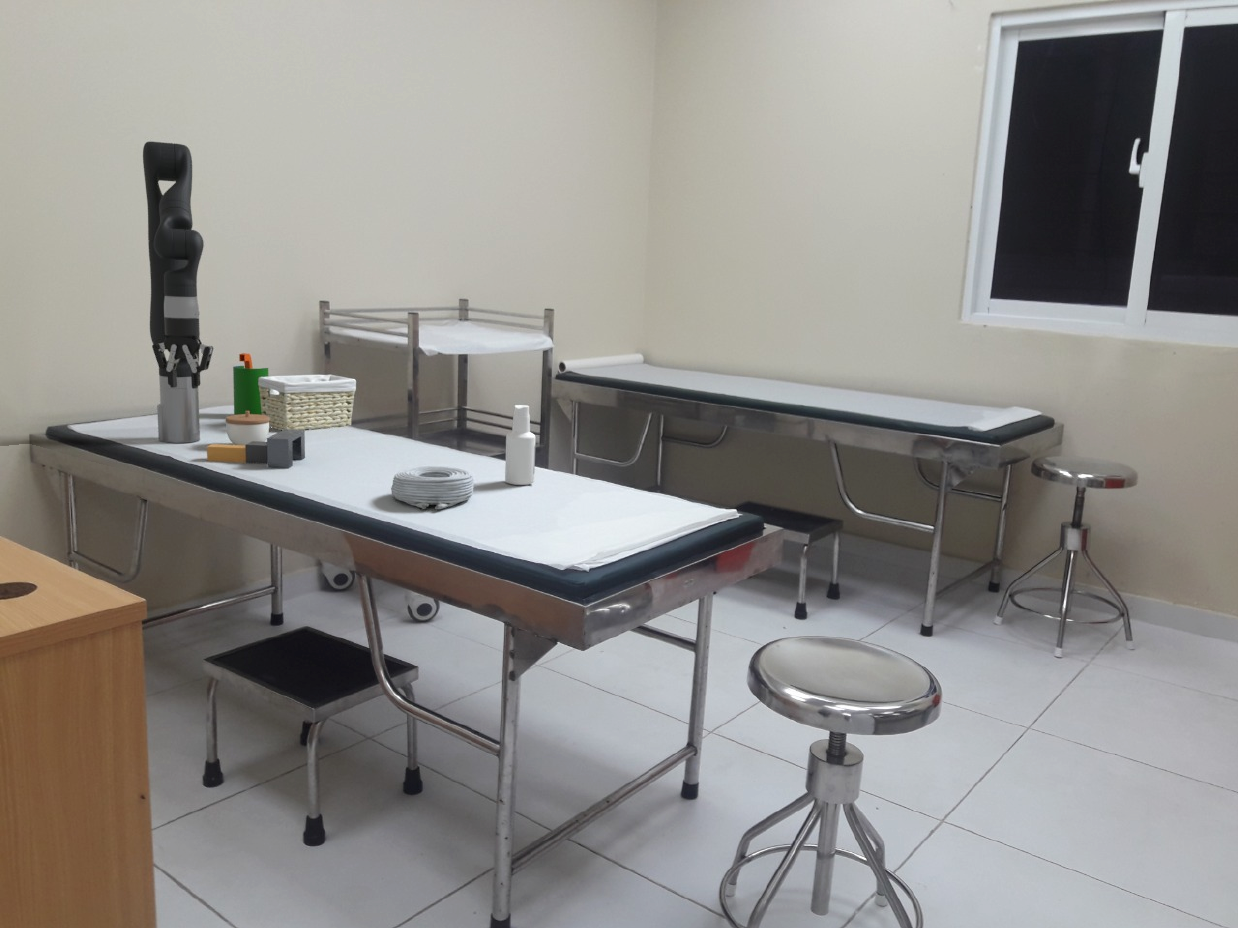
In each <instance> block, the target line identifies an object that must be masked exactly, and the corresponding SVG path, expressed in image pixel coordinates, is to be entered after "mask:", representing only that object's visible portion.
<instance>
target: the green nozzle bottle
mask: <svg viewBox="0 0 1238 928" xmlns="http://www.w3.org/2000/svg"><path fill="white" fill-rule="evenodd" d="M238 355H239V357H238V358H239V362H243V364H244V365H236V366H235V365H234V366H233V367H232V369H233V370H232V371H233V375H232V376H233V377H232V378H233V379H232V380H233V381H232V382H233V407H234V408H233V415H239V414H245V411H250V414H257V415H262V411H261V410H262V409H261V398H260V392H259V385H258V382H259V380H258V379H259V377H269V367H262V368H253V361H252V356H251V354H250V353H244V352H243V353H242V352H241V353H239V354H238Z"/></svg>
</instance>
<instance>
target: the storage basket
mask: <svg viewBox="0 0 1238 928" xmlns="http://www.w3.org/2000/svg"><path fill="white" fill-rule="evenodd" d="M258 380H259V382H258V385H259V392H260V398H261V409H262V410H261V411H262V415H265V416H268V417H269V418H270V421H269V428H270V427H272V428H271V429H274V428H275V429H274V430H276V429H278V430H277V431H280V430H284V429H288V430H305V429H311V430H319V428H323V429H330V427H334V428H344V427H351V426H352V416H353V410H354V409H353V407H354V403H355V402H354V399H355V392H356V391H357V380H356V379H355V378H350V377H345V376H339V375H334V374H298V375H296V374H294V375H273V376H271V375H270V376H268V377H259V379H258ZM305 431H306V430H305Z"/></svg>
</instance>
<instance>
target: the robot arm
mask: <svg viewBox="0 0 1238 928" xmlns="http://www.w3.org/2000/svg"><path fill="white" fill-rule="evenodd" d="M192 157H193V156H192V153H191V150H190V147H188V146H187V145H185V144H182V143H175V142H174V143H172V142H162V141H161V142H160V141H147V142H144V145H143V148H142V162H143V165H142V166H143V173H144V174H143V175H144V183H145V184H144V185H145V192H146V193H145V194H146V201H147V202H146V203H147V239H148V240H147V241H148V242H147V243H148V257H149V270H150V271H149V273H150V305H149V307H150V308H149V310H150V311H149V334H150V340H151V342H152V346H151V347H152V350H153V351H152V352H153V354H154V356H155V357H154V358H155V360H156V363H157V365H158V375H159V376H158V379H159V381H158V382H159V396H160V397H159V401H160V403H158V404H157V407H156V409H157V429H158V431H157V433H158V441H159V442H163V443H164V442H165V443H175V444H176V443H177V444H178V443H179V444H180V443H181V444H182V443H193V442H199V441H200V440H201V435H200V434H201V430H200V429H201V428H200V426H201V425H200V404H199V403H200V401H199V399H200V398H199V387H200V386H201V372H203V371H206V370H208V369H209V367H210V362H211V359H212V355H213V351H214V346H213V345H206V344H203V343H202V341H201V339H200V335H201V332H200V310H199V309H200V307H199V306H200V305H199V301H198V286H197V283H198V282H197V281H198V280H197V279H198V270H199V265H200V262H201V258H202V255H203V252H204V251H203V250H204V247H205V245H204V243H205V241H204V239H203V236H202V235H201V233H200V232H199V231H197V230H194V229H193V224H194V223H193V215H192V214H193V213H192V207H191V205H192V204H191V201H192V200H191V199H192V198H191V197H192V189H193V188H192V187H193V160H192V159H193V158H192ZM160 181H162V182H163V181H164V182H174V184H172V185H171V186H170V187H169V188H168V189H167V190H166V191H165V192H164V193H162V191H161V188H160V185H159V182H160ZM166 350H167V352H168V353H169V356H168V359H167V357H166V354H165V351H166ZM200 350H201V354H202V356H201V361H200Z"/></svg>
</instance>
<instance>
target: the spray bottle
mask: <svg viewBox="0 0 1238 928" xmlns="http://www.w3.org/2000/svg"><path fill="white" fill-rule="evenodd" d="M513 411H514V412H513V414H512V430H511V431H510V432H508V433H507V434H506V435H505V436H506V438H505V468H504V469H505V471H504V473H505V474H504V475H505V476H504V481H505V483H507V484H509V485H515V486H525V485H526V486H527V485H531V484H533V483H534V482H535V471H536V469H535V462H536V435H535V434H534V433H533V432H531V424H530V423H531V422H530V419H531V416H530V406H529V405H526V404H515V405H514V410H513Z"/></svg>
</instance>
